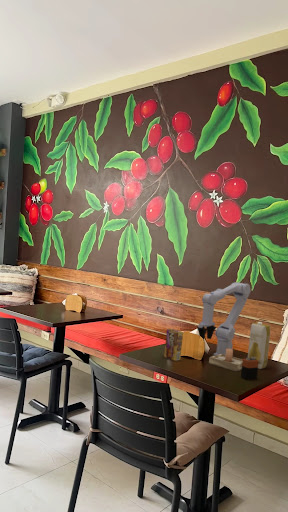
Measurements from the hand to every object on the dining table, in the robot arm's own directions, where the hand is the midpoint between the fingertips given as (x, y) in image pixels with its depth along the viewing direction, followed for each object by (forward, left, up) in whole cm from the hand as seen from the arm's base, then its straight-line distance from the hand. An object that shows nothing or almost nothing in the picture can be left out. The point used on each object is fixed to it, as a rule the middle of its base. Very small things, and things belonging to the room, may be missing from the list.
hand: (205, 339), depth 234 cm
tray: (+3, +17, -10) cm, 20 cm away
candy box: (+19, -8, -10) cm, 23 cm away
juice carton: (-10, +27, -10) cm, 31 cm away
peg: (+3, +17, -9) cm, 19 cm away
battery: (+14, +34, -10) cm, 38 cm away
